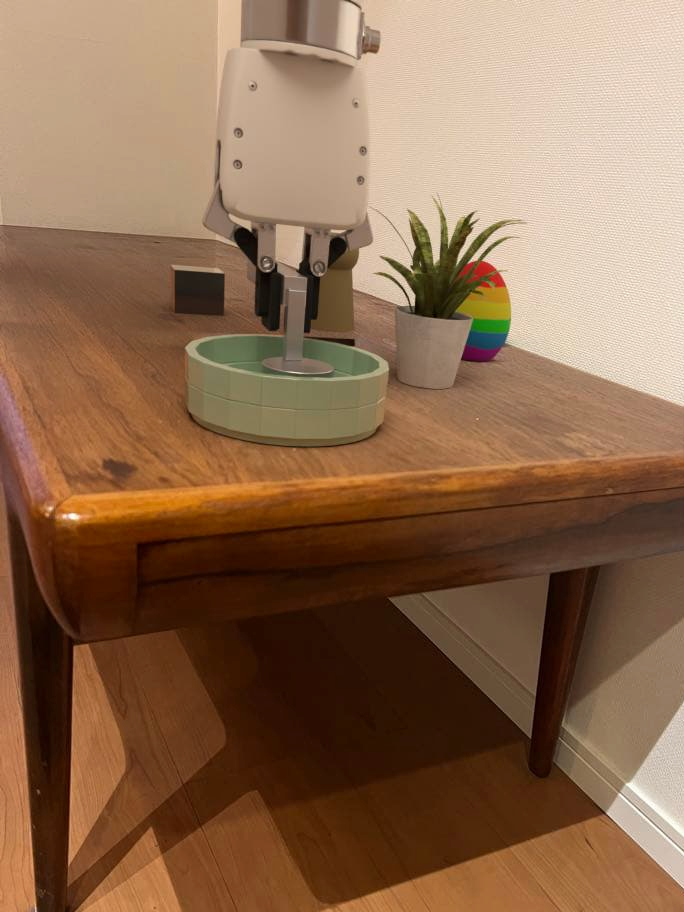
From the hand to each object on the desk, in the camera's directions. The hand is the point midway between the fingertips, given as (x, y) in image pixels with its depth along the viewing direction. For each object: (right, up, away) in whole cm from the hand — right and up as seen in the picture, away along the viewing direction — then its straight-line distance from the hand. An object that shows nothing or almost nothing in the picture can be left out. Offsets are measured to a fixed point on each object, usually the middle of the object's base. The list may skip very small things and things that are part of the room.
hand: (285, 326), depth 57 cm
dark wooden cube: (-13, +7, +26) cm, 30 cm away
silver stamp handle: (-1, -3, +4) cm, 5 cm away
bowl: (0, -7, -1) cm, 7 cm away
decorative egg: (+16, +4, +29) cm, 33 cm away
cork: (0, +5, +27) cm, 27 cm away
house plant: (+12, -1, +15) cm, 19 cm away
